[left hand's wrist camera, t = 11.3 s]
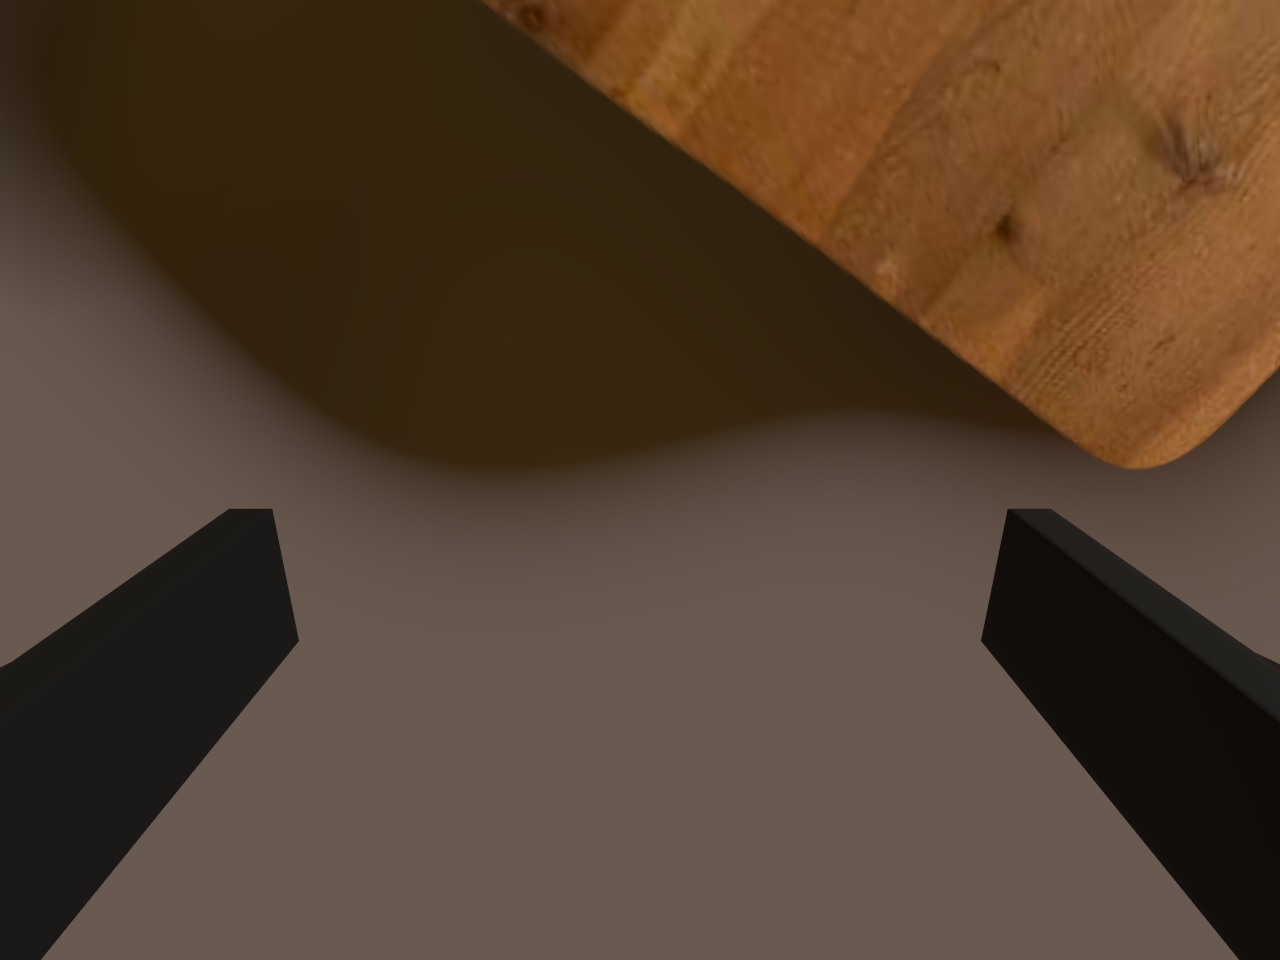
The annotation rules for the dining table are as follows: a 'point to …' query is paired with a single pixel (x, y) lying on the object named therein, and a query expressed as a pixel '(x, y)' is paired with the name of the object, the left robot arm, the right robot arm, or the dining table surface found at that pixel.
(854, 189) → the dining table surface
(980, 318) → the dining table surface
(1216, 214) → the dining table surface
